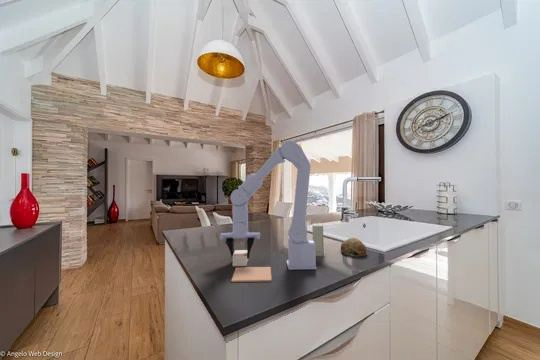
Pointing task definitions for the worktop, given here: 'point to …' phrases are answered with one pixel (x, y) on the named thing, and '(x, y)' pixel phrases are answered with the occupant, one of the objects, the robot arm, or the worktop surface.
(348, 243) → the brown rounded lump
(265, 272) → the mat
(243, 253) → the card box
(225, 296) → the worktop surface
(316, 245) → the skincare box
